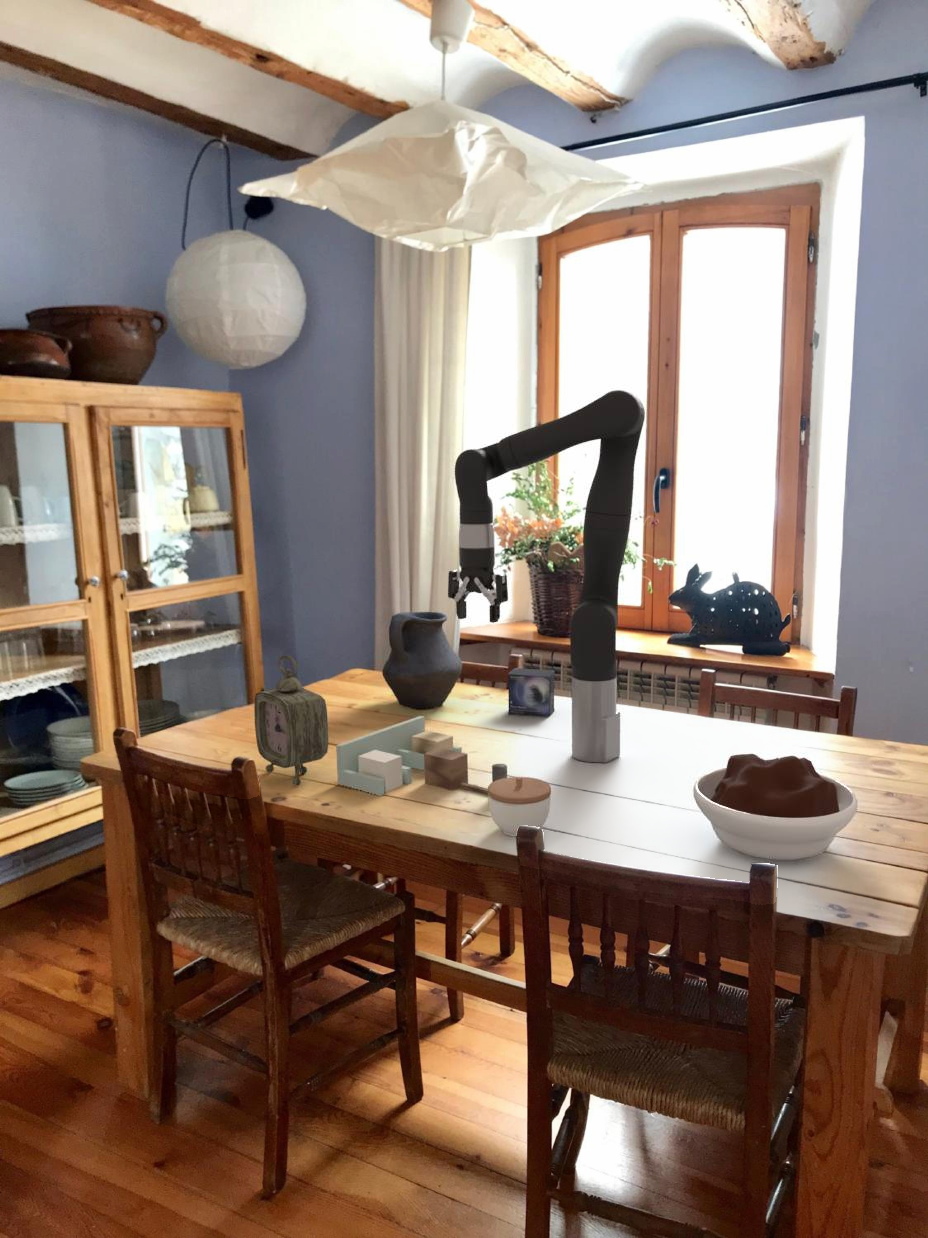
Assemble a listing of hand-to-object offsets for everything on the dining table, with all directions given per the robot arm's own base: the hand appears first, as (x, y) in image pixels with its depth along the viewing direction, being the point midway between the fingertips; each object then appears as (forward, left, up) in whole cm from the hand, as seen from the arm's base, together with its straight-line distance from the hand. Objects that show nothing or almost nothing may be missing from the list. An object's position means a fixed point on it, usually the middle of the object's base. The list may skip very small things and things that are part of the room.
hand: (477, 620), depth 206 cm
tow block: (-14, +23, -28) cm, 39 cm away
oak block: (+1, +15, -28) cm, 32 cm away
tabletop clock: (+19, +37, -28) cm, 50 cm away
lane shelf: (+2, +23, -28) cm, 36 cm away
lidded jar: (-34, +34, -28) cm, 56 cm away
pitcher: (+33, -19, -28) cm, 48 cm away
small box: (+6, -29, -28) cm, 41 cm away
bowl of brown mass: (-71, +16, -28) cm, 78 cm away
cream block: (+1, +31, -28) cm, 42 cm away
